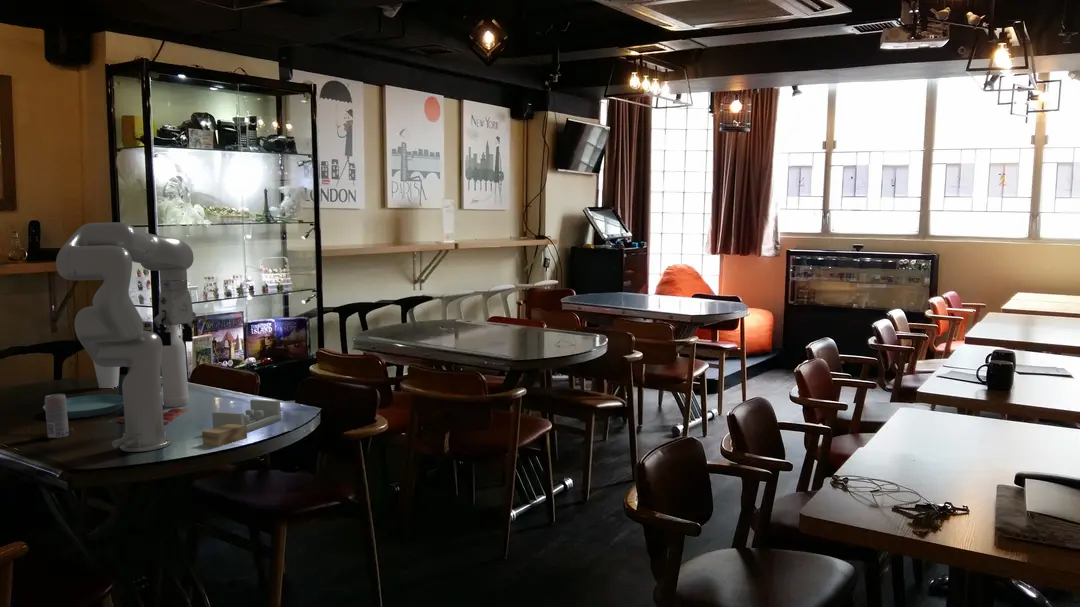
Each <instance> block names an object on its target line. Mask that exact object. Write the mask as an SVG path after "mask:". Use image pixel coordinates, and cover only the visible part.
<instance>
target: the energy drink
mask: <svg viewBox="0 0 1080 607" xmlns="http://www.w3.org/2000/svg"><path fill="white" fill-rule="evenodd" d="M66 399H67V396H66V394H65V393H53V394H49V395H48V394H47V395H45V397H44V405H45V410H44V411H46V412H45V420H46V432H47V434H46V435H47V438H49V439H50V438H57V439H62V437H63V438H67V437H68V436H69V433H70V431H69V418H68V416H67V404H66Z"/></svg>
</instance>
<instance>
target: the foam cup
mask: <svg viewBox="0 0 1080 607" xmlns="http://www.w3.org/2000/svg"><path fill="white" fill-rule="evenodd" d="M92 362H93V366H94V370H95V371H94V372H95V375H96V381H97V383H98V384H97V385H98V388H99V389H100V388H112V389H115V388H114V387H116V388H118V387H119V381H120V368H121V367H102V366H99V365H97V364H96V363H95V362H94V361H93V360H92ZM117 386H118V387H117Z"/></svg>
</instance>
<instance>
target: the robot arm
mask: <svg viewBox="0 0 1080 607" xmlns="http://www.w3.org/2000/svg"><path fill="white" fill-rule="evenodd" d="M194 259H195V258H194V251H193V250H192V248H191V247H190V245H189V244H187V243H186V242H184V241H182V240H180V239H177V238H173V237H170V236H169V237H168V236H162V235H158V234H153V233H148V232H145V231H143V230H140V229H139V228H136V227H135V226H132V225H131V224H129V223H126V222H90V223H85V224H82V226H80V227H79V228H78V229H76V231H75V232H74V233H72V235H71V236H70V237H69V238H68V239H67V241H66V242H65V243H64V244H63V245H62V246H61V248H60V249H59V252H58V253H57V255H56V258H55V260H56V261H55V268H56V271H57V272H58V274H59V276H61V277H62V278H63V279H65V280H69V281H100V280H101V281H103V283H102V285H101V286H100V287H99V288H98V289H97V290H96V292H95V293H94V296H93V298H92V305H89V306H86V307H83V308H81V309H80V310H79V311H78V312H77V313H76V315H75V319H74V330H75V334H76V337H77V338H78V340H79V342H80V344H81V346H82V347H83V348H84V350H85V351H86V352H87V354H88V356H89V357H90V358H91V360H92V362H93V361H94V362H95V363H96V364H97V365H99V366H102V367H120V368H123V367H125V368H130V369H129V371H128V372H127V374H126V375H125V377H124V378H123V381H122V386H121V387H122V388H121V389H122V396H123V402H124V405H123V412H124V413H123V414H124V417H125V423H124V426H125V432H123V433H122V437H121V438H118V439H115V440H112V441H111V446H112V447H113V448H115V449H116V448H120V450H121V451H123V452H131V453H137V452H139V453H140V452H149V451H155V450H158V449H164V448H165V447H168V446H170V445H171V444H172V438H171V437H168V436H165V426H164V420H163V412H164V411H163V410H164V408H163V407H164V405H163V390H162V373H161V357H162V346H171V332H169V330H170V328H171V326H172V325H177V326H180V325H181V326H182V327H183V328H181V333H182V334H181V336H182V340H183V343H192V342H193V341H194V338H193V329H194V324H196V323H195V322H196V317H197V313H196V312H194V308H193V302H192V297H191V293H190V292H191V291H190V290H189V289H188V288H189V287H188V270H189V269H190V267H191V266H193V263H194ZM133 263H135V264H136V263H138V264H140V266H141V267H142V268H144V269H145V270H148V271H152V272H153V271H155V272H156V271H157V272H159V274H158V275H159V286H160V288H159V289H160V291H159V299H158V314H157V315H156V316H155V317H154V318H153V321H154V323H155V327H156V329H157V331H158V333H159V335H158V334H157V333H155V332H153V331H149V330H144V328H145V326H144V322H143V319H142V317H141V315H140V313H139V311H138V309H137V307H136V305H135V304H134V302H133V301H132V298H131V297H130V293H129V290H130V285H131V278H132V269H133ZM165 326H166V327H165Z"/></svg>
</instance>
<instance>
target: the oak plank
mask: <svg viewBox="0 0 1080 607" xmlns="http://www.w3.org/2000/svg"><path fill="white" fill-rule="evenodd" d="M201 434H202V435H201V436H202V446H208V445H209V446H210V447H214V446H215V447H216V448H220V447H223V445H224V446H227V445H230V444H233V443H237V442H240V441H243V440H247V439H248V433H247V428H246V425H241V424H233V423H230V424H227V425H223V426H220V427H216V428H213V427H212V428H210V429H209V428H208V429H206V430H202V431H201ZM236 441H237V442H236ZM232 442H233V443H232ZM229 443H230V444H229ZM209 446H208V447H209Z"/></svg>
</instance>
